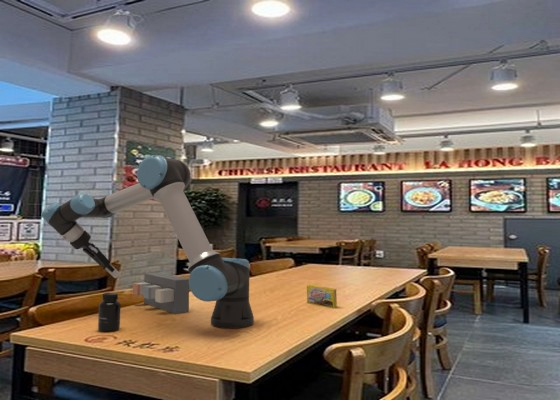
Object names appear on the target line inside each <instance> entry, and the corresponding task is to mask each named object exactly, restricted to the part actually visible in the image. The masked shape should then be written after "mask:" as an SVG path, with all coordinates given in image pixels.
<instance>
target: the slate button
mask: <svg viewBox="0 0 560 400" xmlns="http://www.w3.org/2000/svg"><path fill="white" fill-rule="evenodd" d="M156 289H162V285H153V286H144V295H143V299H144V298H146V299H154V298H155V290H156Z"/></svg>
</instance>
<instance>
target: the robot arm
mask: <svg viewBox="0 0 560 400" xmlns="http://www.w3.org/2000/svg"><path fill="white" fill-rule="evenodd" d="M191 175H192V174H191V170H190V168H189V166H188V165H187V164H186V163H185V162H184V161H181V160H178V159H174V158H170V157H166V156H164V155H163V156H162V155H159V154H158V155H154V154H153V155H152V154H151V155H149V156H146V157H145V158H144V159H143V160H142V161H140V163H139V165H138V169H137V172H136V177H137V181H138V183H136V184H133V185H130V186H128V187H126V188H124V189H120V190H118V191H116V192H114V193H111V194H109V195H107V196H104V197H102V198H93V197H92V196H91V195H89V194H88V193H83V192H82V193H80V194H77V195H75V196H73V198H71V199H69V200H67V201H66V202H65V203H63V204H62V205H61V204H59V203H58V202H52V203H51V204H49V205H48V206H47V207H45V208H44V209H43V210H42V212H41V214H40V215H41V218H43V219H44V220H45V222H46V223H47V224H48V225H49V226H50V227H51V228H53V230H55V231H56V232H57V233H58V234H59V235H60V236H61V237H62V240H66V242H68V243H69V245H70V246H72V247H73V249H74V250H80V249H82V252H84V253H85V254H86V255H88V256H89V257H90V258H91V259H92V260H94V262H95V263H97V264H98V265H99V266H101V267H102V269H104V270H105V271H107V273H109V274H110V275H111V276H112V278H114V279H117V278H118V277H119V276H120V275H121V272H120V271H118V269H117V268H115V266H114V265H112V262H111V261H110V260H109V259H108V258H107V257H106V256H105V254H104V253H102V251H101V250H100V248H99V247H98V246H96V245H95V244H94V243H93V242H92V243H91V242H90V240H91V238H92V235H91V234H89V232H87V231H86V230H84V227H83V226H82V225H80V223H78V221H77V220H78V219H81V218H83V219H84V218H85V219H87V218H93V219H95V218H96V219H97V218H98V219H108V218H113V217H115V216H116V215H117V213H118V212H121V211H125V210H127V209H129V208H132V207H135V206H137V205H140V204H143V203H144V202H147V201H150V200H154V201H157V202H160V204H161V206H162V208H163V210H164V213H165V215H166V216H167V219H168V221H169V222H170V224H171V226H172V229H173V231H174V233H175V235H176V237H177V239H178V241H179V243H180V245H181V248H182V250H183V251H184V254H185V255H186V258H187V259H188V262H189V264H188V268H187V271H188V273H189V278H188V279H189V291H190V292H191V294H192V295H193V296H194V297H195V298H196V299H198V300H200V301H202V302H207V303H208V302H215V304H214V308H213V309H212V310H213V311H212V312H211V313H212V314H211V317H210V325H211V326H212V327H216V328H222V329H239V328H246V327H250V326H253V325H254V324H255V319H254V318H255V316H254V313H253V310H252V306H251V303H250V271H251V268H250V261H249V260H248V259H245V258H234V257H232V258H231V257H222V255H221V253H220V252H219V251H214V250H213V248H212V246H211V243H210V242H209V240H208V239H209V238H207V236H206V234H205V231H204V229H203V227H202V225H201V223H200V222H199V220H198V218H197V215H196V213H195V212H194V210H193V208H192V207H191V204H190V202H189V200H188V198H187V196H186V194H185V192H184V190H185V189H186V188H187V187H188V186H189V184H190V182H191V178H192V177H191Z"/></svg>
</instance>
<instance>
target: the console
mask: <svg viewBox="0 0 560 400" xmlns="http://www.w3.org/2000/svg"><path fill="white" fill-rule="evenodd" d="M143 278H144V280H143V282H150V286H153V285H162V289H166V288H174V301H173V302H165V303H159V302H156V301H155V298H154V299H146V298H144V297H143V304H145V305H148V306H150V307H153V308H157V309H159V310H162V311H165V312H168V313H171V314H173V315H174V314H175V315H177V314H183V313H184V314H186V313H189V312H190V309H189V308H190V287H189V279H190V278H185V277H181V276H175V275H170V274H166V273H163V272H162V273H160V272H148V273H144V277H143Z"/></svg>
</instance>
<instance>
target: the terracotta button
mask: <svg viewBox="0 0 560 400" xmlns="http://www.w3.org/2000/svg"><path fill="white" fill-rule="evenodd" d="M144 286H150V282H144V281H143V282H135V283H132V295H134V296H144Z"/></svg>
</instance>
